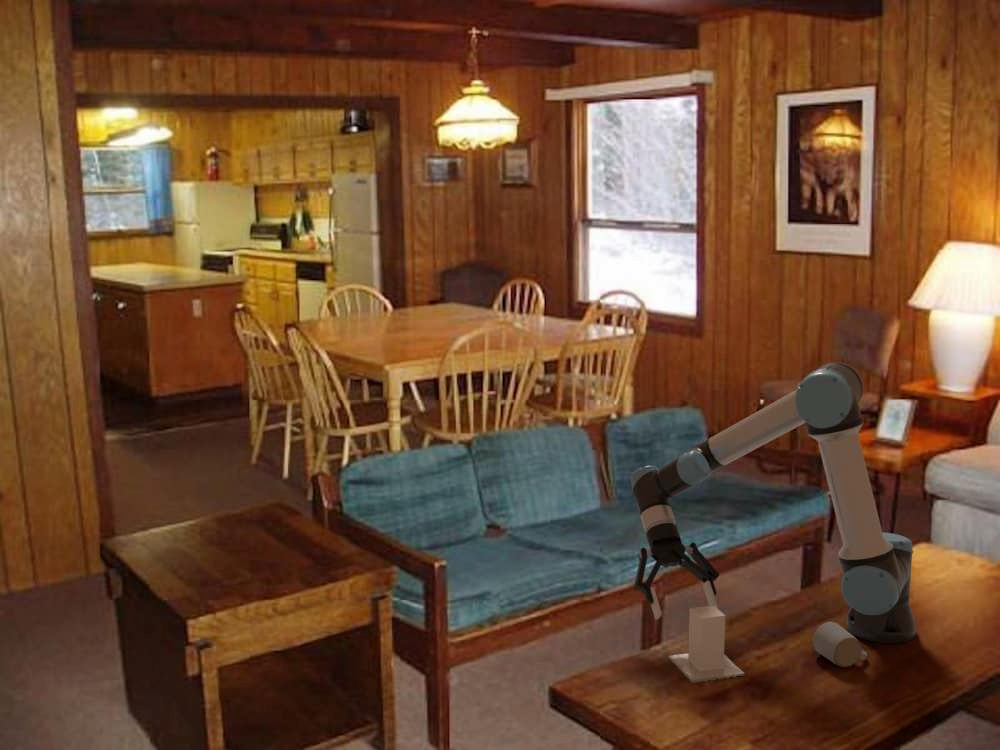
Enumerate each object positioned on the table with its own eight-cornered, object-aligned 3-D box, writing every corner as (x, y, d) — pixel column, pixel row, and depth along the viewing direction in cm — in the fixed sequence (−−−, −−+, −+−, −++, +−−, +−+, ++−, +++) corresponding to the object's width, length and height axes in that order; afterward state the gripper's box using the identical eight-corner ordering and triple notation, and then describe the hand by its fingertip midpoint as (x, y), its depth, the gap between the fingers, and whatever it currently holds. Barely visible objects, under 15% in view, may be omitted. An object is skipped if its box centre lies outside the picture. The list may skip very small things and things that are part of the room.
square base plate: (719, 651, 236) (719, 621, 234) (744, 675, 224) (745, 643, 223) (668, 658, 233) (669, 627, 232) (692, 683, 221) (692, 650, 220)
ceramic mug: (834, 671, 226) (836, 638, 224) (811, 656, 233) (813, 623, 232) (875, 664, 229) (878, 631, 228) (851, 649, 237) (853, 617, 236)
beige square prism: (711, 657, 232) (713, 605, 230) (723, 668, 227) (725, 615, 224) (688, 660, 231) (689, 608, 228) (699, 671, 225) (700, 618, 223)
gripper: (704, 530, 255) (731, 613, 244) (606, 541, 249) (630, 626, 237) (714, 516, 249) (743, 600, 238) (615, 526, 243) (639, 613, 231)
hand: (686, 613), depth 238 cm, fingers open, 13 cm apart
